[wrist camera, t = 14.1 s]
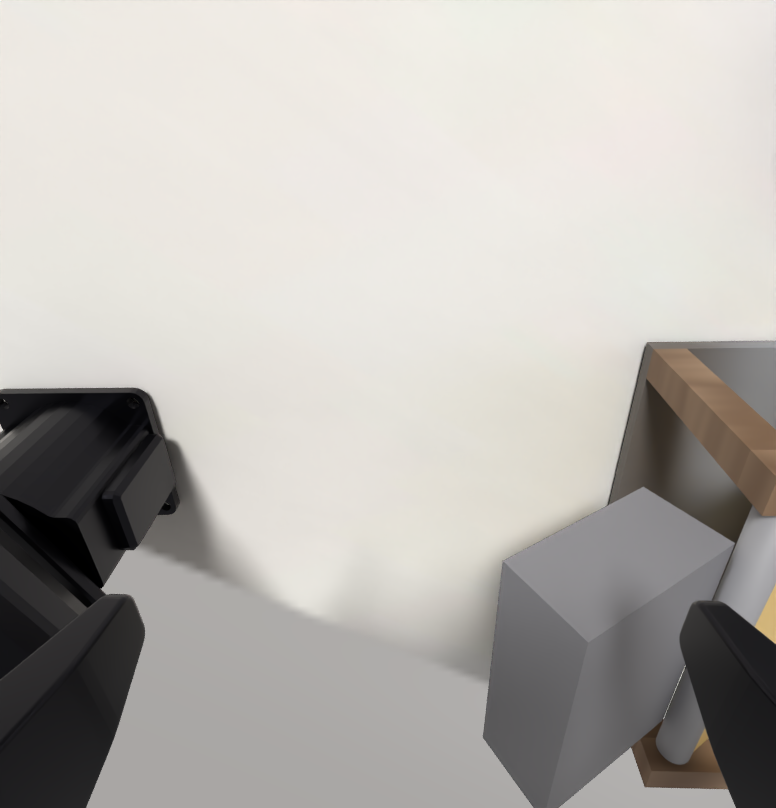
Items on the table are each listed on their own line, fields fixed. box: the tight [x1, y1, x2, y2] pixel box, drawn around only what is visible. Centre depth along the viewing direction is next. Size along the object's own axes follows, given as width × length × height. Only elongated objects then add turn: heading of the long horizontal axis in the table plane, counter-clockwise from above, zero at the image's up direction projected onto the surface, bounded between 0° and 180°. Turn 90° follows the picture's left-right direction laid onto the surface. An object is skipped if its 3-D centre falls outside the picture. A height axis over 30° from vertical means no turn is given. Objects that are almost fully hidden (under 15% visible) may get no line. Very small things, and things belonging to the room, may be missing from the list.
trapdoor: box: [483, 487, 776, 808], centre depth 19 cm, size 18×12×4 cm
